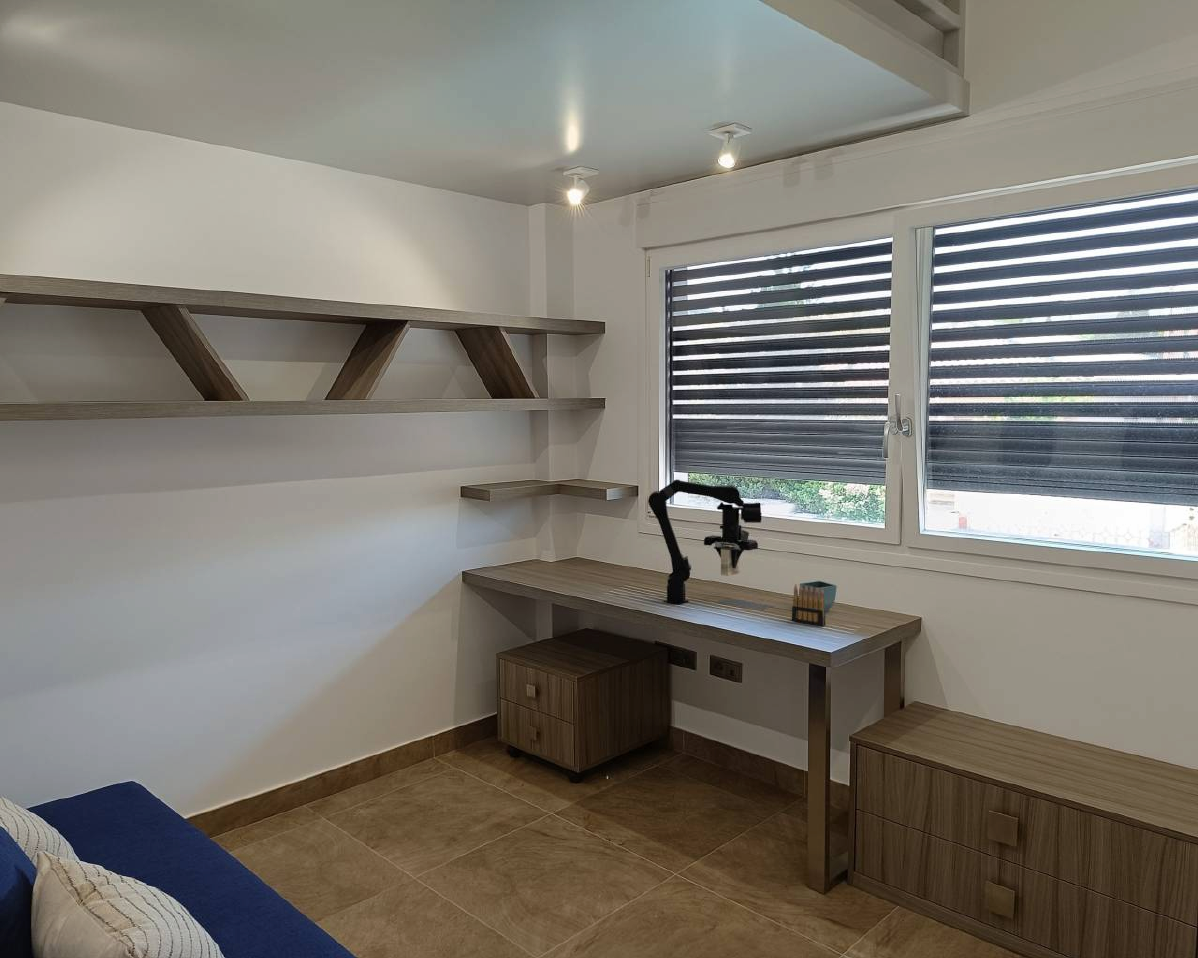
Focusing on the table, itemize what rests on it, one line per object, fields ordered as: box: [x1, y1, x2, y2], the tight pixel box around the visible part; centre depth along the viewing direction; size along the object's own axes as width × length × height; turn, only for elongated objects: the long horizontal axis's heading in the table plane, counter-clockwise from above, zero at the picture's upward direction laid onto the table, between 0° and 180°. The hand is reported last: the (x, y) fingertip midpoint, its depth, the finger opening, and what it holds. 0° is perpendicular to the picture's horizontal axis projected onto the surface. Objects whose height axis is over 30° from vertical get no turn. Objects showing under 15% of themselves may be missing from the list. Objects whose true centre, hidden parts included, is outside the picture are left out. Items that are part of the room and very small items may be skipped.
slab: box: [720, 546, 741, 577], centre depth 314 cm, size 7×3×9 cm, turn 138°
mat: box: [715, 598, 774, 611], centre depth 312 cm, size 8×18×1 cm, turn 48°
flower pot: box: [799, 580, 838, 613], centre depth 302 cm, size 9×9×9 cm
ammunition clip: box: [791, 583, 826, 628], centre depth 285 cm, size 11×2×12 cm, turn 51°
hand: (730, 567), depth 315 cm, fingers closed on slab, 3 cm apart
